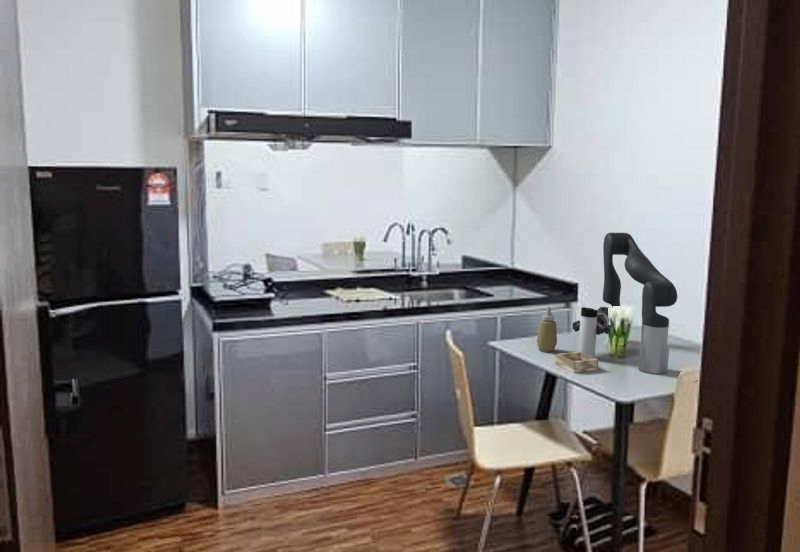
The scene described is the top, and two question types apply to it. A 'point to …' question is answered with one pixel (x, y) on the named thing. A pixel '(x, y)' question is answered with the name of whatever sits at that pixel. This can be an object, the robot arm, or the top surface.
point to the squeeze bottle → (547, 332)
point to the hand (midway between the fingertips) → (586, 330)
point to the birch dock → (576, 362)
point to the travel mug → (588, 331)
